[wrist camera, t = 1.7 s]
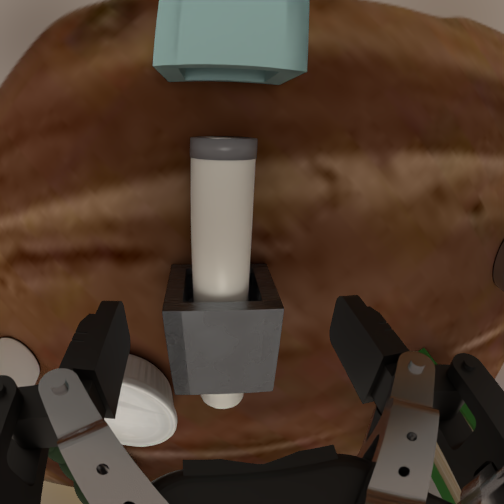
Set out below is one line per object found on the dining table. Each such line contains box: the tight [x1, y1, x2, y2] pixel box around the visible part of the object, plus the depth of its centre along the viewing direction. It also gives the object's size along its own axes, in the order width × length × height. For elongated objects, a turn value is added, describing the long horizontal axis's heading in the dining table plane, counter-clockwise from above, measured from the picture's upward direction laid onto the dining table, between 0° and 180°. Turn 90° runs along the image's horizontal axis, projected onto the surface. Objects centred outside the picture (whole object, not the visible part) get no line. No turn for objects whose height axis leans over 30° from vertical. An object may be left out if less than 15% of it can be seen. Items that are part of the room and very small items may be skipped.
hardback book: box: [418, 348, 476, 504], centre depth 26 cm, size 18×7×24 cm, turn 24°
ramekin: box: [104, 354, 177, 447], centre depth 27 cm, size 11×11×5 cm
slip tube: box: [190, 136, 258, 409], centre depth 22 cm, size 4×22×4 cm, turn 177°
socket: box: [153, 0, 309, 85], centre depth 15 cm, size 8×6×6 cm
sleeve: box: [162, 264, 284, 395], centre depth 23 cm, size 8×8×6 cm
